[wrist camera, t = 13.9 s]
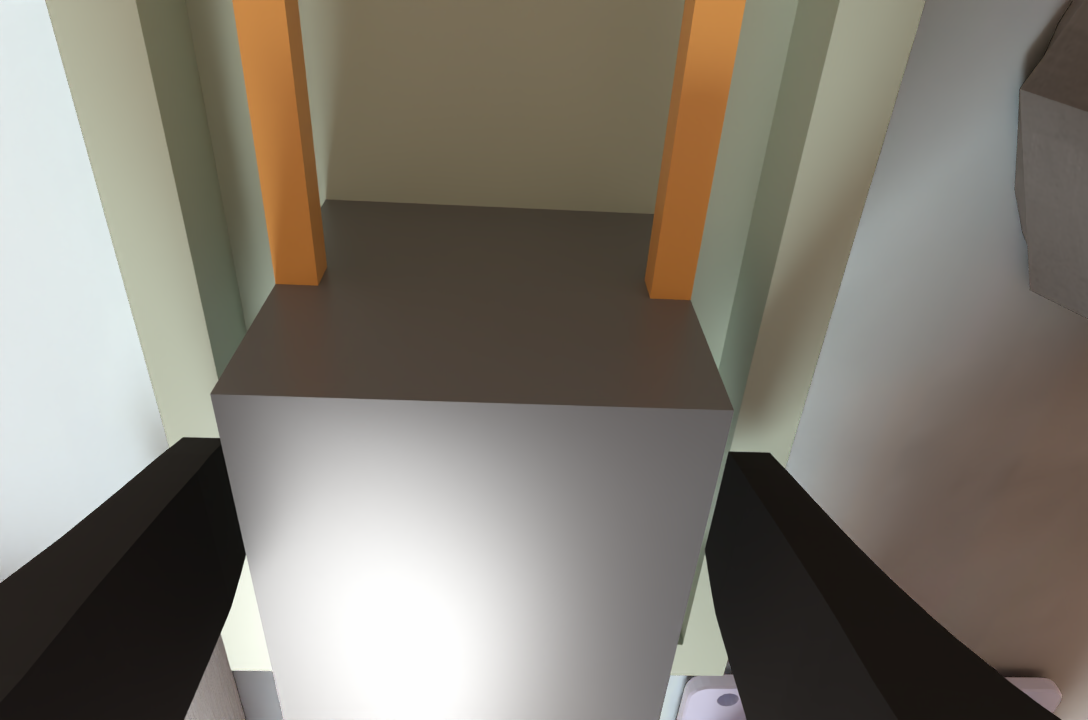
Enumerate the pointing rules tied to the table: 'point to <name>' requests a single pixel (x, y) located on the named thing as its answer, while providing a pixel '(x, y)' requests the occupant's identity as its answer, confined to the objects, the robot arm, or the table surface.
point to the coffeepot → (1057, 165)
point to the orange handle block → (474, 424)
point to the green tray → (489, 173)
